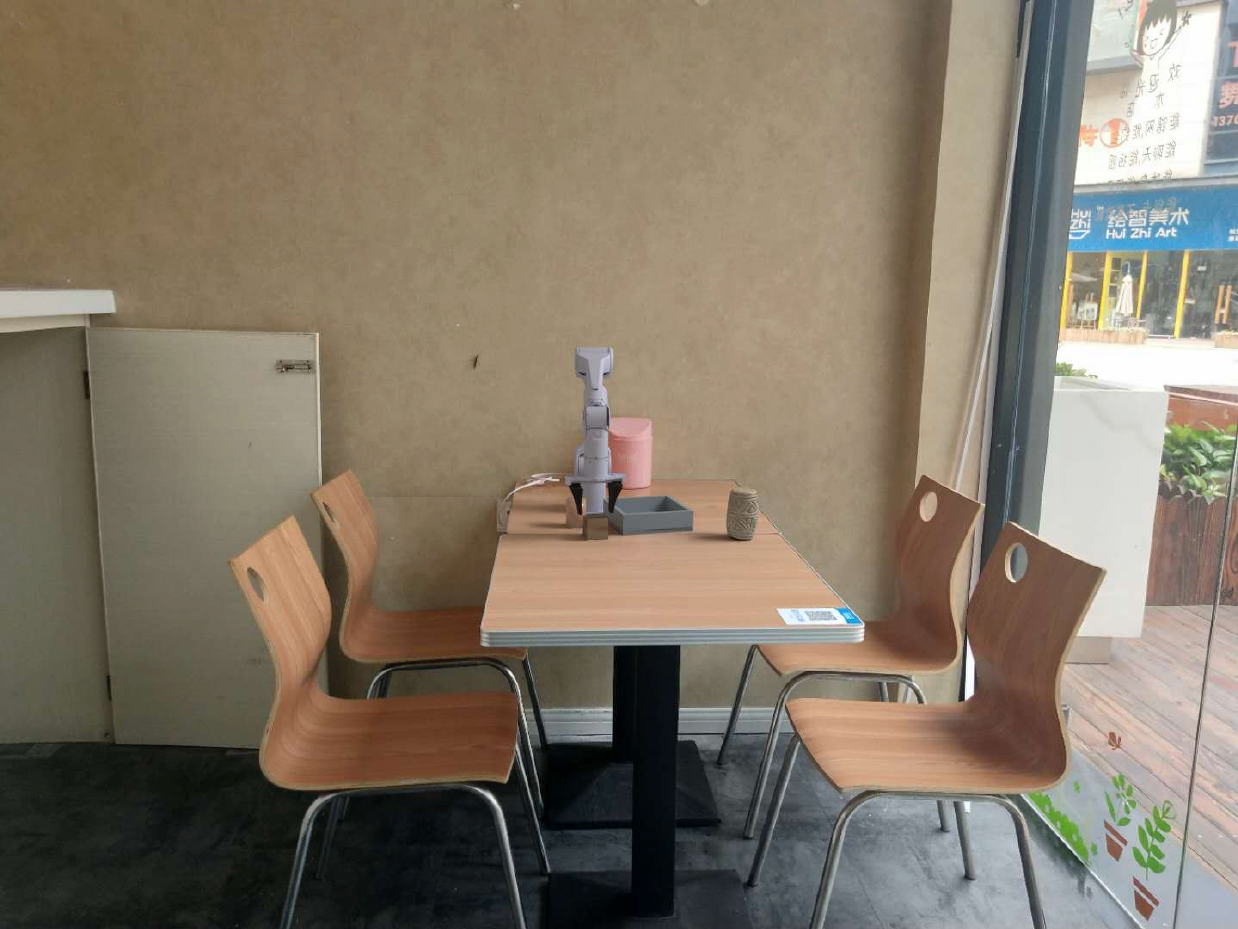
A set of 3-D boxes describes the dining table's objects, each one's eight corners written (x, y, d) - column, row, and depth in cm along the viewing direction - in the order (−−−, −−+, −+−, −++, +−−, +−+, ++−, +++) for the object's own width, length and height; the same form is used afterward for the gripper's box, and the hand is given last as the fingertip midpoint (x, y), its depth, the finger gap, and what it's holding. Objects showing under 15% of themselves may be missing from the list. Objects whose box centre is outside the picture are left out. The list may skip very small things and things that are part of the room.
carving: (758, 541, 214) (760, 492, 212) (726, 541, 214) (728, 491, 212) (755, 534, 220) (757, 486, 218) (724, 534, 220) (726, 486, 218)
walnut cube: (582, 535, 218) (582, 515, 217) (602, 534, 219) (602, 514, 218) (587, 541, 213) (587, 520, 212) (608, 539, 214) (608, 519, 213)
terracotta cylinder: (563, 524, 227) (563, 497, 226) (583, 523, 229) (583, 496, 227) (568, 529, 223) (568, 502, 221) (588, 528, 224) (588, 500, 223)
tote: (602, 517, 235) (603, 498, 234) (668, 513, 240) (668, 494, 239) (623, 535, 218) (623, 515, 217) (692, 530, 223) (693, 510, 222)
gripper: (569, 461, 206) (569, 519, 209) (630, 458, 211) (629, 515, 213) (562, 455, 213) (562, 511, 216) (621, 453, 217) (620, 508, 220)
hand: (595, 513), depth 215 cm, fingers open, 7 cm apart
